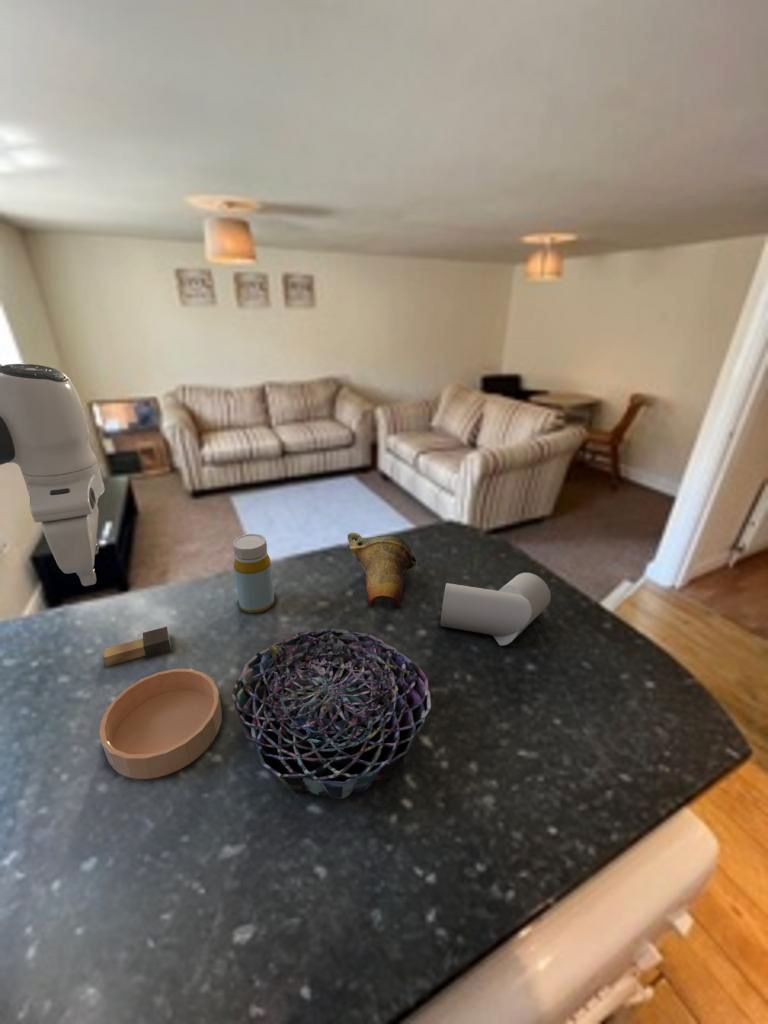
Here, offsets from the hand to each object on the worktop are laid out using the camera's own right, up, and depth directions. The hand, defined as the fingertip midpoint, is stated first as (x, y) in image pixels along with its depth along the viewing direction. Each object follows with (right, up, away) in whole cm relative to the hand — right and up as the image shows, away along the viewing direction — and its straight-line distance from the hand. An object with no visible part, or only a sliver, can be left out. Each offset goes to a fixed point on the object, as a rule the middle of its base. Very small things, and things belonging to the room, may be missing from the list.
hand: (91, 567), depth 69 cm
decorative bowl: (+38, -24, -3) cm, 45 cm away
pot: (+45, -7, +32) cm, 56 cm away
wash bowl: (+14, -23, -4) cm, 27 cm away
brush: (+1, -17, +9) cm, 19 cm away
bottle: (+19, -11, +23) cm, 32 cm away
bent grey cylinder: (+66, -14, +20) cm, 71 cm away
